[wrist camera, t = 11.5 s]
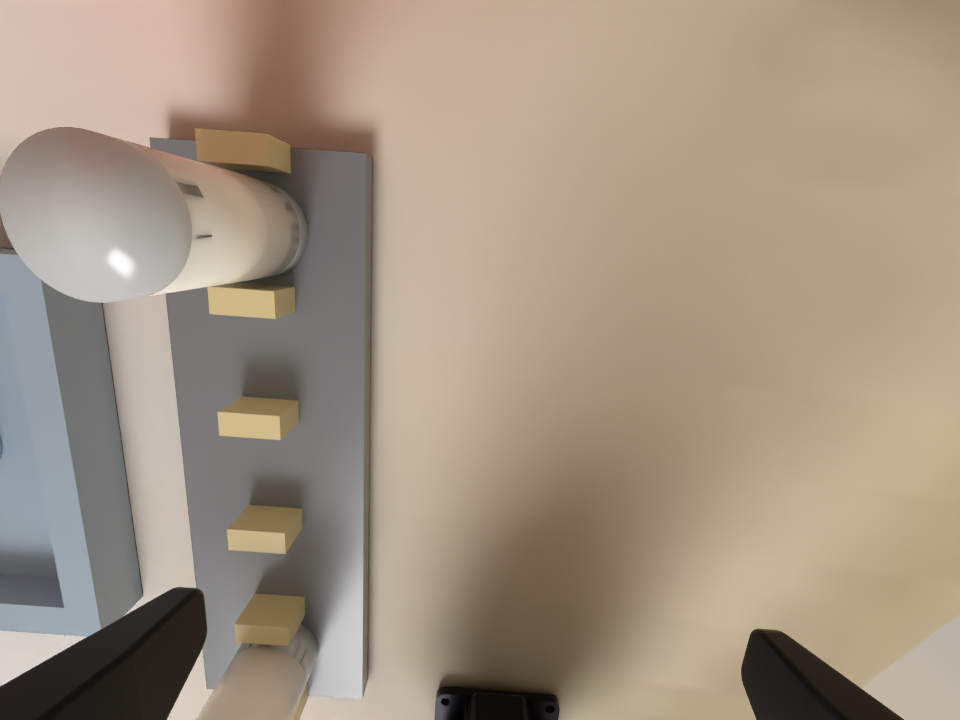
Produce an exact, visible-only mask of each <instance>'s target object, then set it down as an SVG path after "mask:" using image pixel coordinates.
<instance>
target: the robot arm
mask: <svg viewBox="0 0 960 720" xmlns="http://www.w3.org/2000/svg"><path fill="white" fill-rule="evenodd" d="M206 636H207V618H206V608H205V598H204V593H203V592H202V590H200V589H197V588H184V587H177V588H173V589H171V590H169V591H167V592H165V593H164V594H162V595H160V596H158V597H157V598H155V599H153V600H151V601H150V602H148V603H146V604H144V605H143V606H141V607H139V608H137V609H136V610H134V611H132V612H130V613H129V614H127V615H125V616H123V617H122V618H120V619H118V620H116V621H115V622H113V623H111V624H109V625H108V626H106V627H104V628H102V629H101V630H99V631H97V632H95V633H94V634H92V635H90V636H88V637H87V638H85V639H83V640H81V641H79V642H78V643H76V644H74V645H72V646H71V647H69V648H67V649H65V650H64V651H62V652H60V653H58V654H57V655H55V656H53V657H51V658H50V659H48V660H46V661H44V662H43V663H41V664H39V665H37V666H36V667H34V668H32V669H30V670H29V671H27V672H25V673H23V674H22V675H20V676H18V677H16V678H15V679H13V680H11V681H9V682H8V683H6V684H4V685H2V686H1V687H0V720H167V718H168V716H169V714H170V712H171V710H172V708H173V706H174V704H175V702H176V700H177V698H178V696H179V694H180V692H181V690H182V688H183V686H184V684H185V682H186V680H187V678H188V676H189V674H190V672H191V670H192V668H193V666H194V664H195V662H196V660H197V658H198V656H199V654H200V652H201V650H202V648H203V646H204V643H205V640H206ZM741 676H742V681H743V685H744V688H745V691H746V693H747V696H748V698H749V701H750V704H751V706H752V709H753V712H754V714H755V717H756V719H757V720H904V719H902V718H901V717H900V716H898V715H897V714H896V713H894V712H893V711H891V710H890V709H888V708H887V707H886V706H884V705H883V704H882V703H880V702H879V701H877V700H876V699H875V698H873V697H872V696H871V695H869V694H868V693H866V692H865V691H864V690H862V689H861V688H860V687H858V686H857V685H855V684H854V683H853V682H851V681H850V680H849V679H847V678H846V677H844V676H843V675H842V674H840V673H839V672H838V671H836V670H835V669H833V668H832V667H831V666H829V665H828V664H826V663H825V662H824V661H822V660H821V659H820V658H818V657H817V656H815V655H814V654H813V653H811V652H810V651H808V650H807V649H806V648H804V647H803V646H802V645H800V644H799V643H797V642H796V641H795V640H793V639H792V638H791V637H789V636H788V635H786V634H785V633H783V632H781V631H778V630H769V629H755V630H753V631H752V632H751V634H750V637H749V641H748V645H747V648H746V652H745V656H744V659H743V663H742V667H741ZM558 716H559V703H558V699H557V697H555V696H554V695H550V694H537V693H523V692H509V691H495V690H481V689H467V688H452V687H443V688H440V689H439V690H438V691H437V694H436V705H435V720H558Z"/></svg>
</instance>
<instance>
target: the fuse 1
mask: <svg viewBox="0 0 960 720" xmlns="http://www.w3.org/2000/svg"><path fill="white" fill-rule="evenodd" d="M0 214H1V218H2V222H3V226H4V228H5V231H6V233H7V236H8V238H9V240H10V242H11V244H12V246H13V248H14V249H15V251H16V252H17V254H18V255H19V257H20V258H21V259H22V261H23V262H24V263H25V264H26V266H27V267H28V268H29V269H30V270H31V271H32V272H33V273H34V274H35V275H36V276H37V277H39V278H40V279H41V280H42V281H44V282H45V283H46V284H48V285H49V286H51V287H52V288H54V289H55V290H57V291H59V292H61V293H63V294H65V295H68V296H70V297H73V298H76V299H80V300H84V301H88V302H97V303H105V302H115V301H121V300H127V299H134V298H140V297H146V296H153V295H159V294H165V293H172V292H178V291H184V290H191V289H197V288H204V287H210V286H216V285H223V284H229V283H235V282H242V281H248V280H254V279H261V278H267V277H273V276H278V275H282V274H284V273H286V272H288V271H290V270H291V269H292V268H294V267H295V266H296V265H297V264H298V263H299V261H300V260H301V259H302V257H303V255H304V253H305V251H306V247H307V244H308V225H307V220H306V217H305V214H304V212H303V210H302V208H301V206H300V205H299V203H298V202H297V201H296V199H295V198H294V197H293V196H292V195H291V194H290V193H289V192H288V191H286V190H285V189H283V188H282V187H280V186H278V185H276V184H274V183H271V182H268V181H265V180H261V179H258V178H254V177H251V176H247V175H244V174H240V173H237V172H233V171H230V170H226V169H223V168H219V167H215V166H212V165H208V164H205V163H201V162H198V161H194V160H191V159H187V158H184V157H180V156H177V155H173V154H170V153H166V152H163V151H159V150H156V149H152V148H149V147H145V146H142V145H138V144H135V143H131V142H128V141H124V140H121V139H117V138H114V137H110V136H107V135H103V134H100V133H96V132H93V131H89V130H85V129H81V128H73V127H58V128H52V129H47V130H44V131H41V132H38V133H36V134H34V135H32V136H30V137H28V138H27V139H26V140H24V141H23V142H22V143H21V144H20V145H19V146H18V147H17V148H16V149H15V150H14V151H13V152H12V154H11V155H10V157H9V158H8V160H7V162H6V164H5V167H4V169H3V172H2V175H1V179H0Z"/></svg>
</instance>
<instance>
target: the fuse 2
mask: <svg viewBox="0 0 960 720" xmlns="http://www.w3.org/2000/svg"><path fill="white" fill-rule="evenodd" d="M317 657H318V644H317V641H316V639H315V637H314V635H313V634H312V633H311V632H310V631H309V630H308V629H307V628H306V627H305V626H303V625H302V624H300V626H299V628H298V630H297V632H296V634H295V636H294V638H293V640H292V642H291V644H290V646H280V645H266V644H252V643H242V644H241V646H240V648H239V649H238V651H237V652H236V654H235V656H234V657H233V659H232V661H231V662H230V664H229V666H228V667H227V669H226V671H225V672H224V674H223V676H222V677H221V679H220V681H219V682H218V684H217V686H216V687H215V689H214V691H213V692H212V694H211V696H210V697H209V699H208V701H207V702H206V704H205V706H204V707H203V709H202V711H201V712H200V714H199V715H198V717H197V719H196V720H292V719H293V717H294V714H295V712H296V709H297V707H298V704H299V702H300V699H301V697H302V694H303V692H304V689H305V687H306V684H307V682H308V679H309V677H310V674H311V672H312V669H313V667H314V664H315V662H316V659H317Z"/></svg>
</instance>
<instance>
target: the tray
mask: <svg viewBox="0 0 960 720" xmlns="http://www.w3.org/2000/svg"><path fill="white" fill-rule="evenodd" d="M0 440H1V444H2V455H1V458H0V630H2V631H16V632H30V633H44V634H59V635H73V636H87V637H88V636H90V635H92V634H94V633H95V632H97V631H99V630H101V629H102V628H104V627H106V626H108V625H109V624H111V623H113V622H115V621H116V620H118V619H120V618H122V617H123V616H124V615H125V614H126V613H127V612H128V611H129V610H130V609H131V608H132V607H133V606H134V605H135V604H136V603H137V602H138V601H139V600H140V598H141V597H142V596H143V595H142V587H141V580H140V573H139V566H138V559H137V552H136V545H135V537H134V530H133V523H132V516H131V509H130V502H129V495H128V487H127V480H126V473H125V466H124V459H123V452H122V444H121V437H120V430H119V423H118V416H117V409H116V402H115V394H114V387H113V380H112V373H111V366H110V359H109V352H108V344H107V337H106V330H105V323H104V316H103V309H102V303H97V302H88V301H84V300H80V299H76V298H73V297H70V296H68V295H65V294H63V293H61V292H59V291H57V290H55V289H54V288H52V287H51V286H49V285H48V284H46V283H45V282H44V281H42V280H41V279H40V278H39V277H37V276H36V275H35V274H34V273H33V272H32V271H31V270H30V269H29V268H28V267H27V266H26V264H25V263H24V262H23V261H22V259H21V258H20V257H19V255H18V254H17V252H16V251H15V249H11V248H0Z"/></svg>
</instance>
